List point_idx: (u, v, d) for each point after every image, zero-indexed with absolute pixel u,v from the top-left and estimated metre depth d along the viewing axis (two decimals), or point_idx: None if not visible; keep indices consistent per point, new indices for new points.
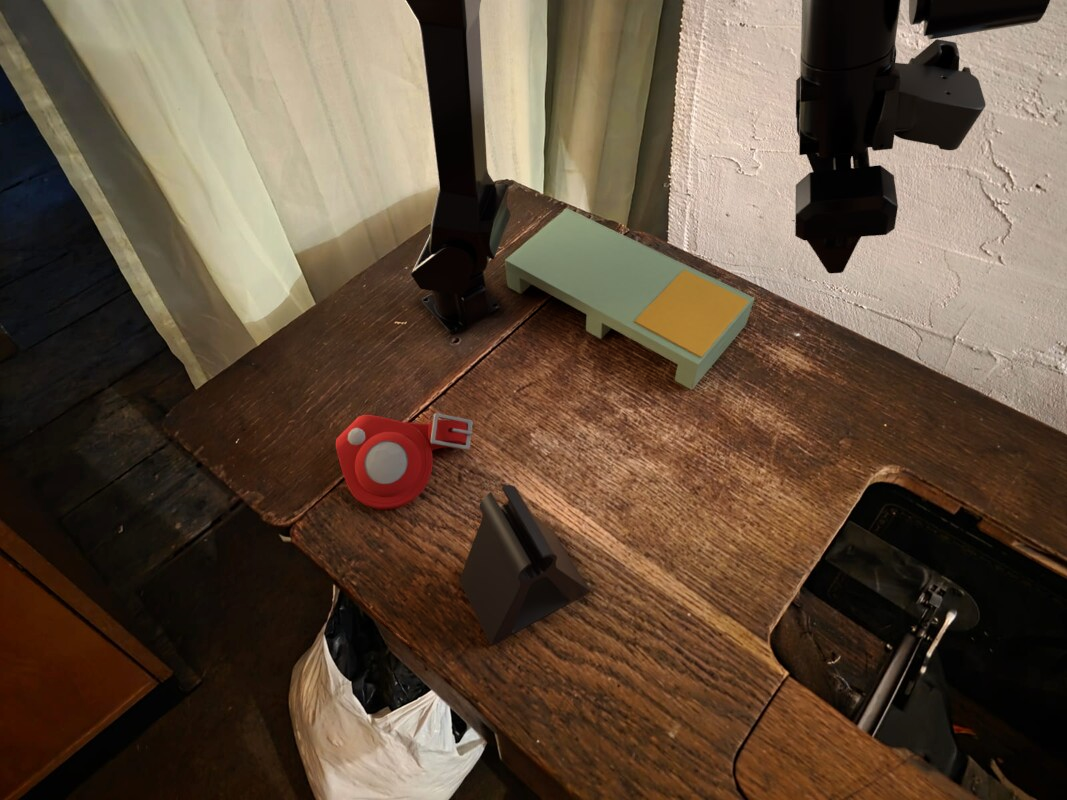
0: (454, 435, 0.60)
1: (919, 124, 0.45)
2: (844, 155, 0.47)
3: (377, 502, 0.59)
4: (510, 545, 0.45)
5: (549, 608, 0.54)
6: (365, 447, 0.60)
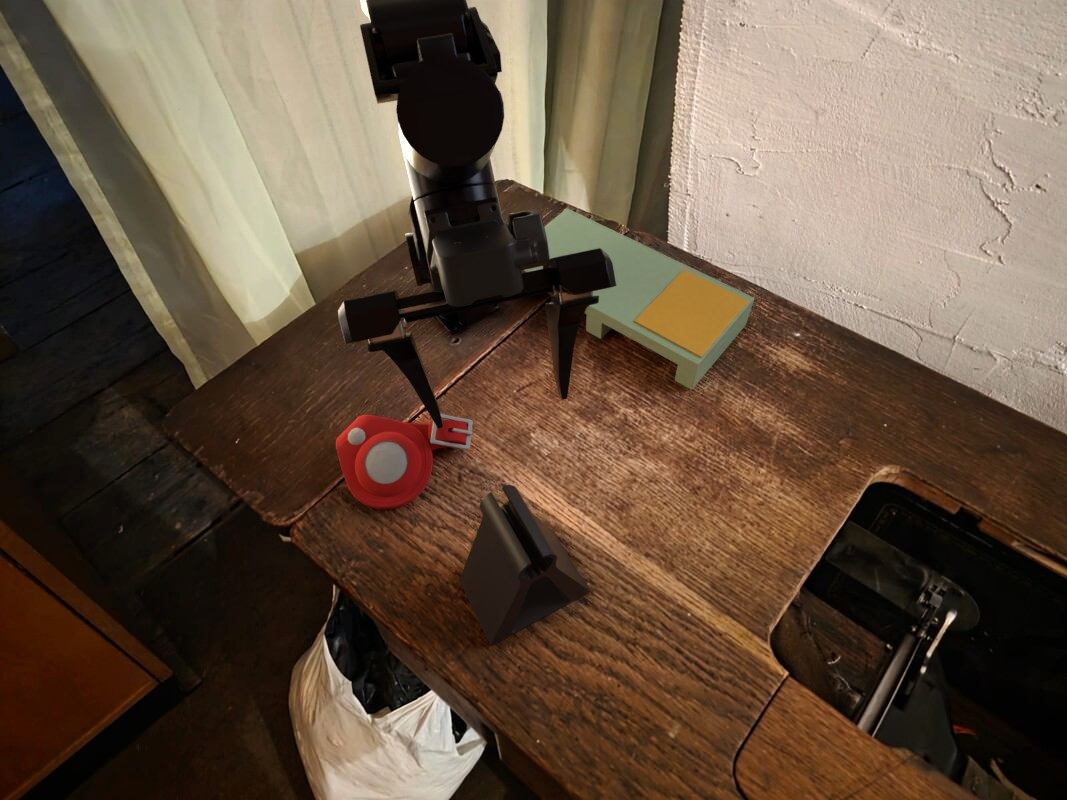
0: (454, 435, 0.61)
1: (437, 268, 0.42)
2: (432, 291, 0.47)
3: (377, 502, 0.59)
4: (510, 545, 0.45)
5: (549, 608, 0.54)
6: (365, 447, 0.60)
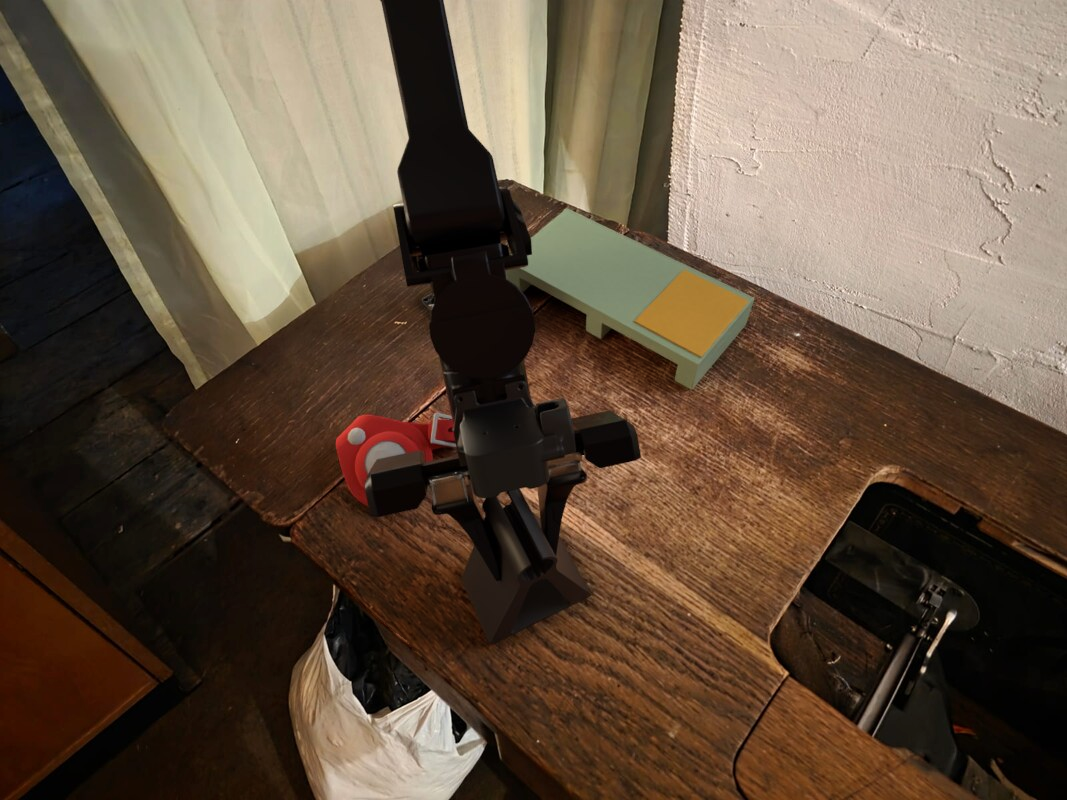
0: None
1: (464, 450, 0.42)
2: (457, 457, 0.47)
3: None
4: (510, 546, 0.45)
5: (549, 610, 0.54)
6: (365, 447, 0.60)
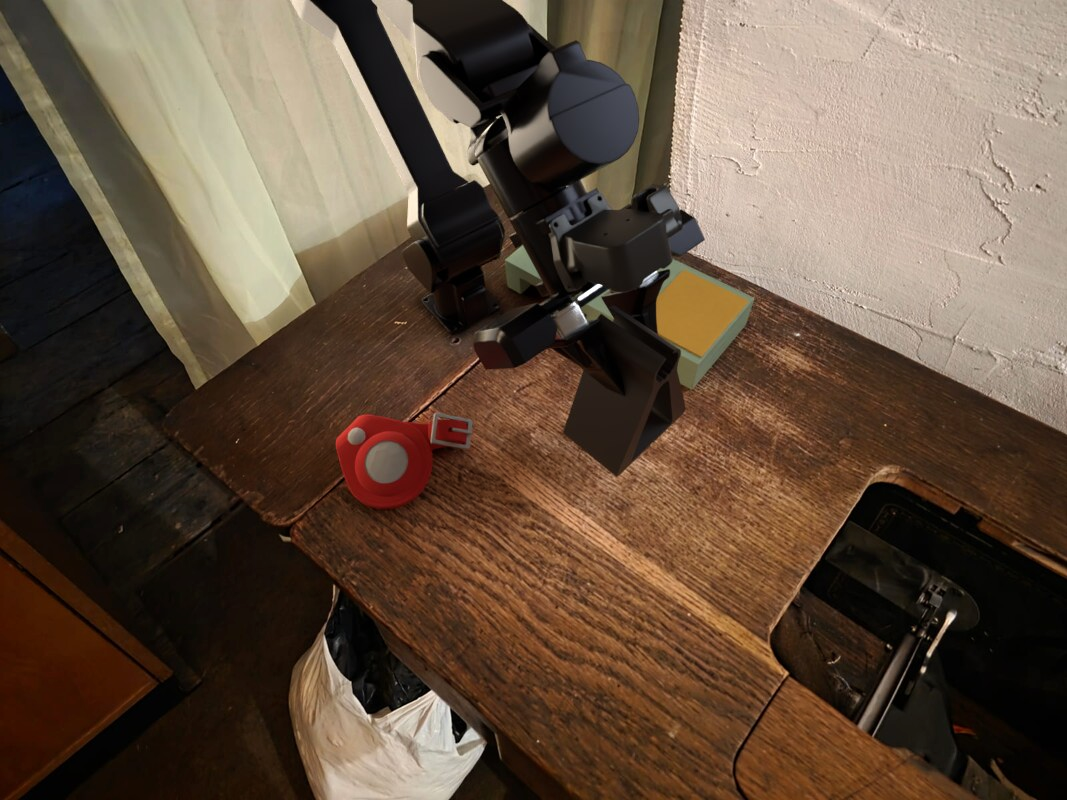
0: (454, 434, 0.61)
1: (584, 265, 0.44)
2: (554, 296, 0.48)
3: (377, 502, 0.59)
4: (639, 351, 0.47)
5: (656, 432, 0.56)
6: (365, 447, 0.60)
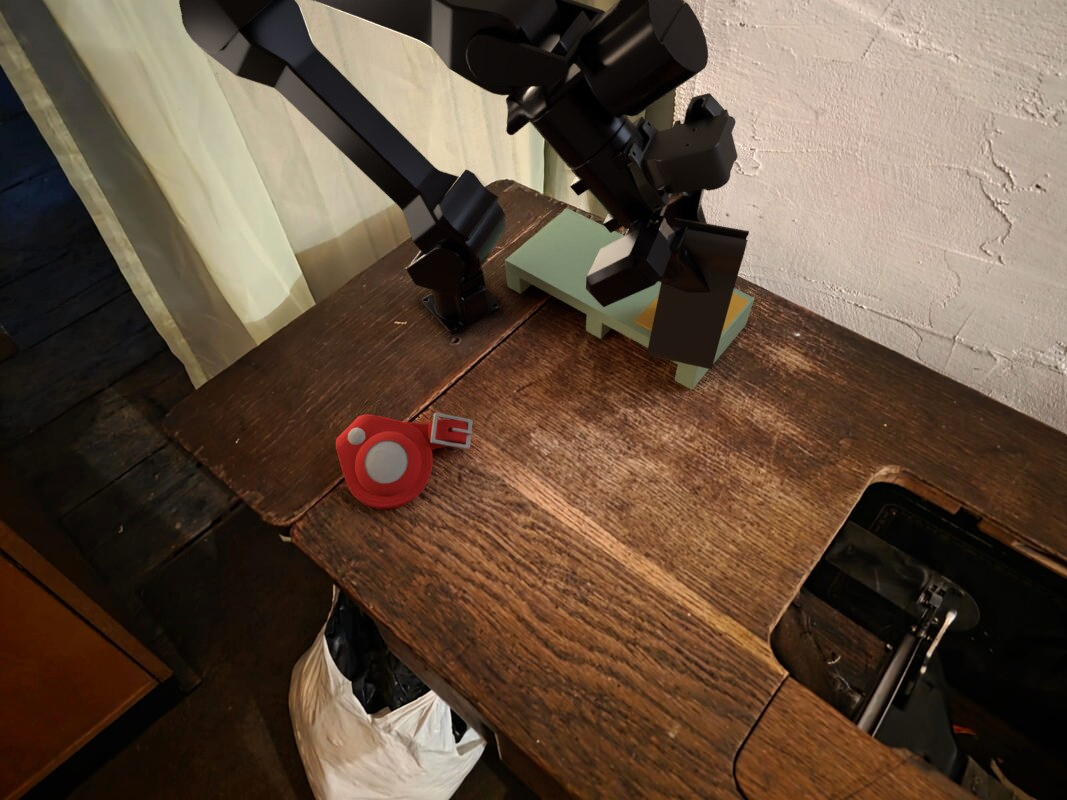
0: (454, 434, 0.61)
1: (673, 179, 0.49)
2: (635, 223, 0.52)
3: (377, 502, 0.59)
4: (721, 244, 0.53)
5: None
6: (365, 447, 0.60)
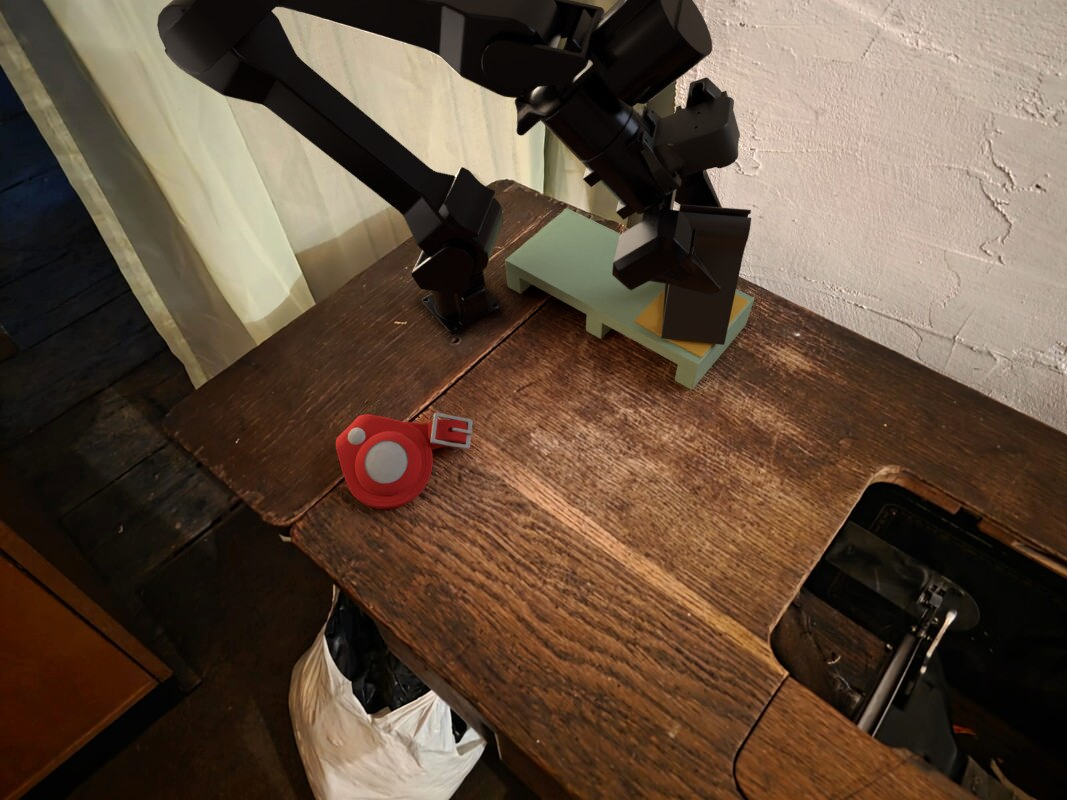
0: (454, 434, 0.61)
1: (686, 160, 0.51)
2: (649, 207, 0.55)
3: (377, 502, 0.59)
4: (728, 223, 0.57)
5: None
6: (365, 447, 0.60)
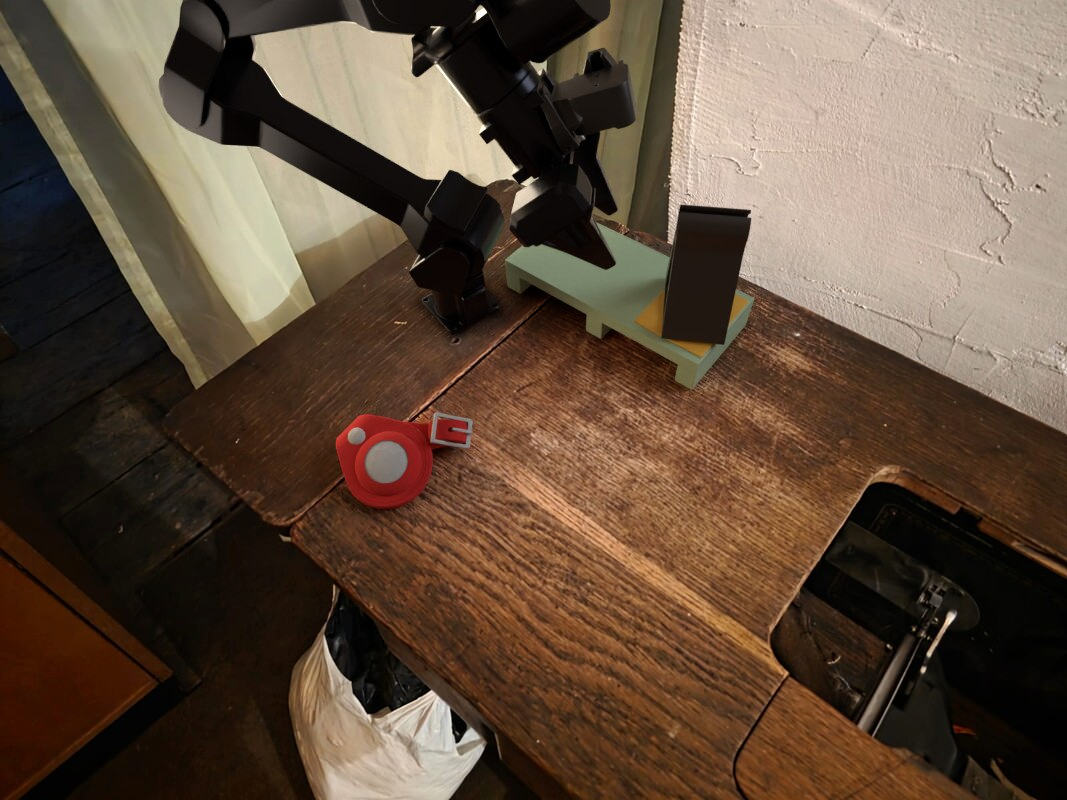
0: (454, 434, 0.61)
1: (585, 118, 0.50)
2: (547, 168, 0.53)
3: (377, 501, 0.59)
4: (728, 223, 0.57)
5: None
6: (365, 447, 0.60)
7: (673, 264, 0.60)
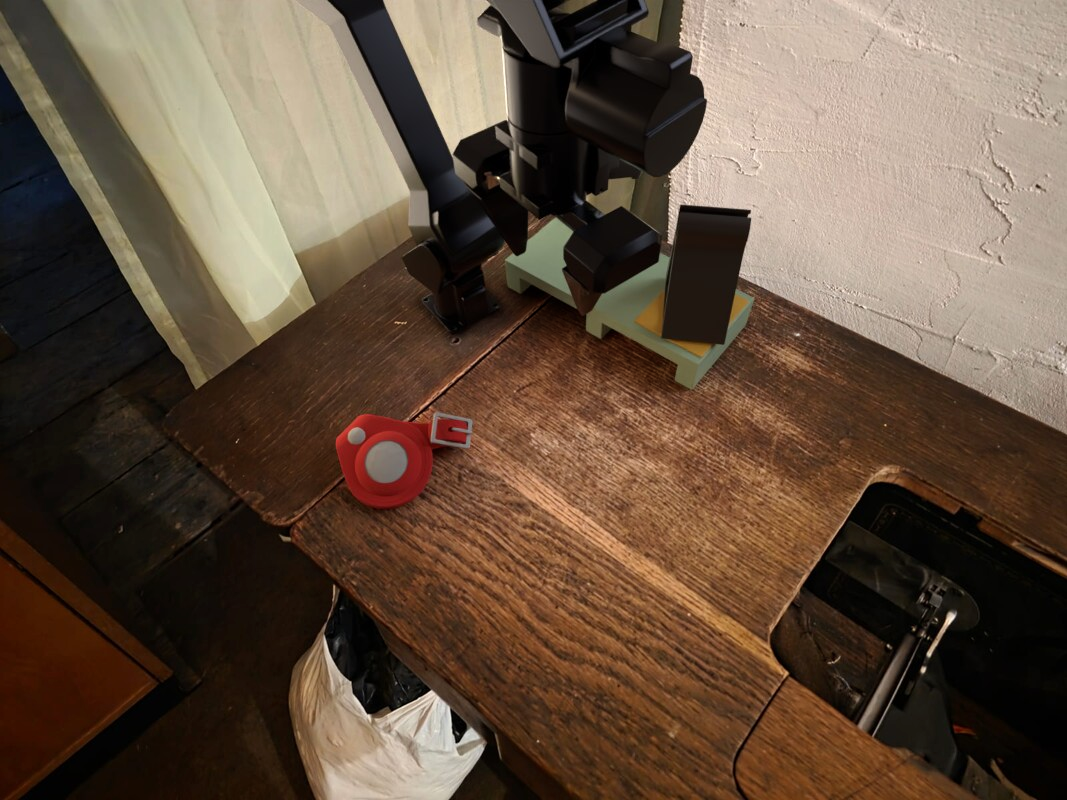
0: (454, 434, 0.61)
1: (620, 163, 0.49)
2: (577, 207, 0.49)
3: (377, 501, 0.59)
4: (728, 223, 0.57)
5: None
6: (365, 446, 0.60)
7: (673, 264, 0.60)
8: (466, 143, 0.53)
